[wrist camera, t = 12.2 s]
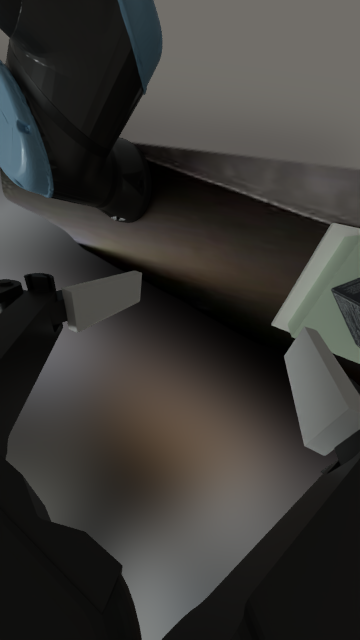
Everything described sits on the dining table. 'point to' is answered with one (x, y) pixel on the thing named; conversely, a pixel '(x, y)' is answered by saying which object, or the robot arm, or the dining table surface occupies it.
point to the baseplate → (312, 271)
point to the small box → (350, 306)
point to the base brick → (331, 301)
